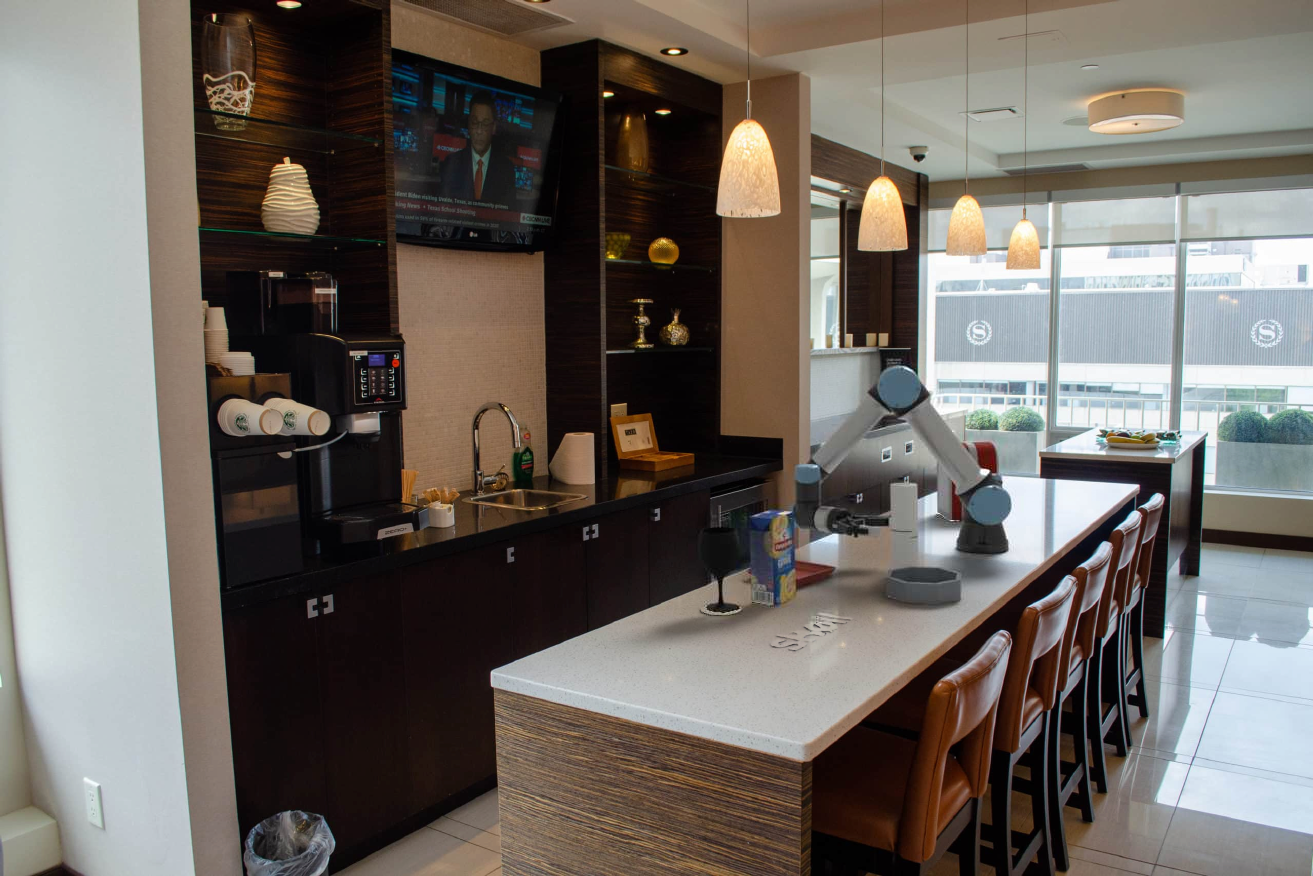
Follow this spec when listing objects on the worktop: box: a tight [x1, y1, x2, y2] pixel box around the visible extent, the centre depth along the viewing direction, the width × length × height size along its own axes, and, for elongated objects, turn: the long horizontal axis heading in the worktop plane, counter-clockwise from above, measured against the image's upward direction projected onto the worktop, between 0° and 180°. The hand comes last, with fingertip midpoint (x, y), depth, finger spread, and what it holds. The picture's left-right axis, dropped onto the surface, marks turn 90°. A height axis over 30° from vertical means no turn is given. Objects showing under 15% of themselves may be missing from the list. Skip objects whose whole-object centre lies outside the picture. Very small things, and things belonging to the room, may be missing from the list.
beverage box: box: [748, 509, 797, 606], centre depth 245 cm, size 7×11×22 cm, turn 144°
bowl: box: [885, 566, 962, 605], centre depth 246 cm, size 18×18×5 cm
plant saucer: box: [746, 559, 837, 588], centre depth 268 cm, size 18×18×3 cm
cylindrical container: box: [889, 482, 919, 570], centre depth 266 cm, size 7×7×25 cm
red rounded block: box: [936, 440, 1000, 521], centre depth 346 cm, size 16×18×27 cm
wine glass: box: [697, 526, 741, 613], centre depth 238 cm, size 10×10×20 cm
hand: (894, 529), depth 268 cm, fingers open, 13 cm apart
